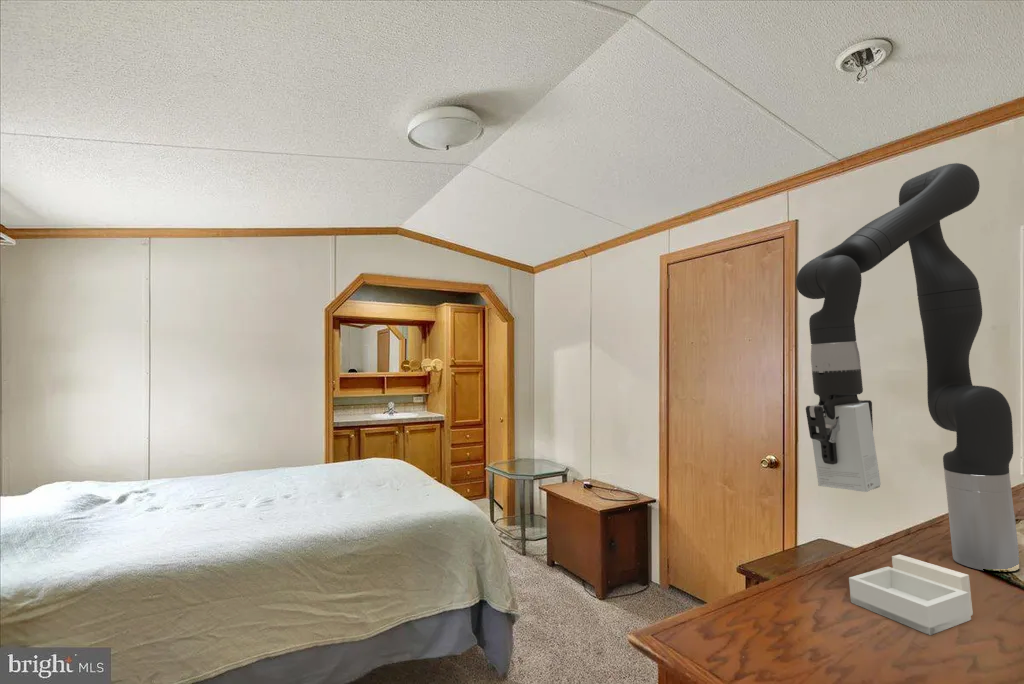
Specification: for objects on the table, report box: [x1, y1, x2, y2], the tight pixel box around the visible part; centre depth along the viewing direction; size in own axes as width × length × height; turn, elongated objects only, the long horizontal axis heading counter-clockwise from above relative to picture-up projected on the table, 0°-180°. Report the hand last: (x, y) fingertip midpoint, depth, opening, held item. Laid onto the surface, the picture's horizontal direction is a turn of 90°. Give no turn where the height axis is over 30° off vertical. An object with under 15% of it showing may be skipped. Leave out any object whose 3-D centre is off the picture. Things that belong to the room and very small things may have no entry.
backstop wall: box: [891, 553, 974, 616], centre depth 83 cm, size 2×10×6 cm, turn 21°
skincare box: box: [811, 403, 882, 493], centre depth 92 cm, size 8×6×15 cm
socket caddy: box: [848, 565, 972, 636], centre depth 81 cm, size 10×12×4 cm
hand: (844, 460), depth 92 cm, fingers closed on skincare box, 6 cm apart
